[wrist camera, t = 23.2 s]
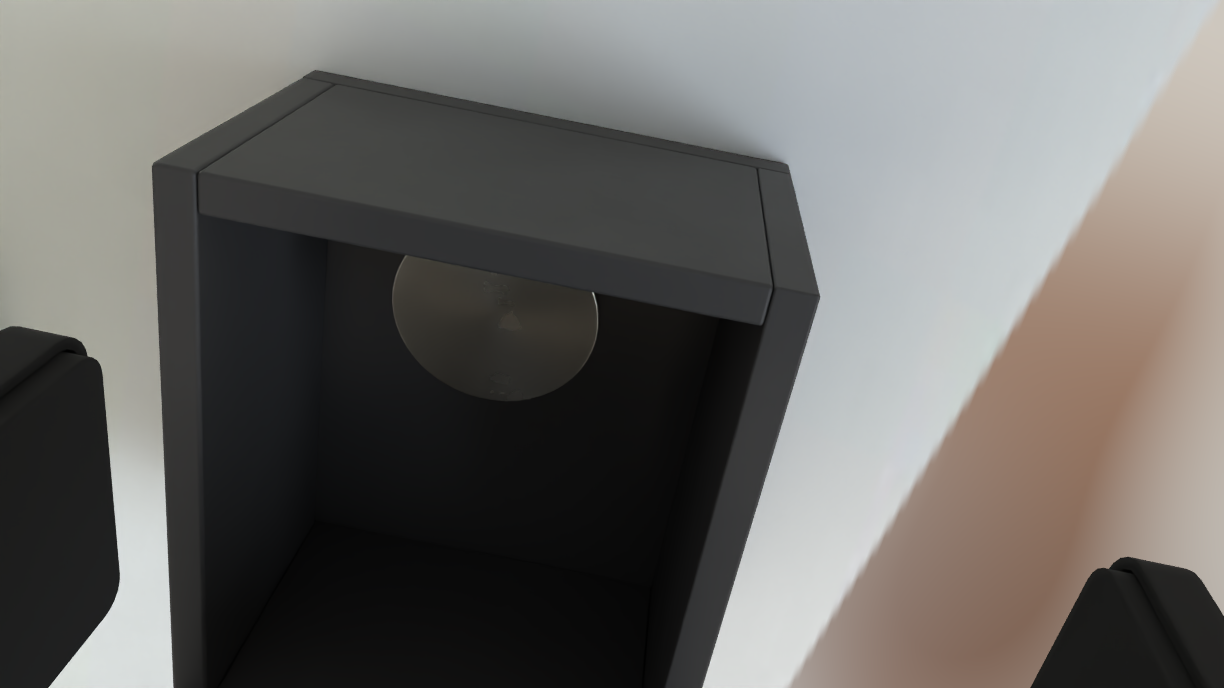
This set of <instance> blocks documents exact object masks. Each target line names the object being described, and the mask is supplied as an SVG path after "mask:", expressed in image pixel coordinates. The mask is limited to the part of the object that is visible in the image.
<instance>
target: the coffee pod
mask: <svg viewBox="0 0 1224 688" xmlns="http://www.w3.org/2000/svg"><path fill="white" fill-rule="evenodd" d="M392 308H393V315H394V319H395V323H396V326H397V329H398V331H399V334H400V336H401V338H402V340H403V342H404V343H405V345H406V347H407V348H408V350H409V351H410V353H411V354H412V355H413V357H414V358H415V359H416V360H417V361H418V362H419V363H420V364H421V366H422V367H423V368H425V369H426V370H427V371H428V372H429V373H430V374H432V375H433V376H434V377H436V378H437V379H438V380H440V381H441V382H443V383H444V384H446V385H448V386H450V387H452V388H454V389H456V390H458V391H461V392H463V393H465V394H468V395H471V396H475V397H478V398H483V399H488V400H496V401H520V400H526V399H532V398H535V397H539V396H542V395H545V394H547V393H550V392H552V391H554V390H556V389H558V388H559V387H561V386H563V385H564V384H566V383H567V382H568V381H570V380H571V379H572V378H573V377H574V376H575V375H576V374H577V373H578V372H579V371H580V370H581V369H582V368H583V366H584V365H585V363H586V362H587V361H588V359H589V357H590V355H591V353H592V351H593V349H594V346H595V343H596V340H597V336H598V331H599V325H600V304H599V297H598V294H597V293H593V292H588V291H583V290H578V289H573V288H568V287H563V286H558V285H553V284H548V283H543V282H538V281H533V280H528V279H523V278H518V277H513V276H508V275H503V274H498V273H493V272H488V271H483V270H478V269H473V268H468V267H463V266H458V265H453V264H448V263H442V262H437V261H432V260H427V259H422V258H417V257H412V256H407V255H404V257H403V259H402V261H401V263H400V264H399V266H398V269H397V272H396V274H395V277H394V282H393V287H392Z"/></svg>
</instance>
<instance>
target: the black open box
mask: <svg viewBox="0 0 1224 688" xmlns="http://www.w3.org/2000/svg"><path fill="white" fill-rule="evenodd" d="M152 180H153V204H154V228H155V252H156V276H157V300H158V324H159V348H160V372H161V396H162V420H163V444H164V468H165V492H166V516H167V540H168V564H169V588H170V612H171V636H172V660H173V684H174V688H702V687H703V683H704V680H705V677H706V673H707V670H708V667H709V663H710V660H711V657H712V653H713V650H714V647H715V644H716V640H717V637H718V634H719V630H720V627H721V624H722V620H723V617H724V614H725V610H726V607H727V604H728V601H729V597H730V594H731V591H732V587H733V584H734V581H735V577H736V574H737V571H738V567H739V564H740V561H741V558H742V554H743V551H744V548H745V544H746V541H747V538H748V534H749V531H750V528H751V524H752V521H753V518H754V515H755V511H756V508H757V505H758V501H759V498H760V495H761V491H762V488H763V485H764V481H765V478H766V475H767V472H768V468H769V465H770V462H771V458H772V455H773V452H774V448H775V445H776V442H777V438H778V435H779V432H780V429H781V425H782V422H783V419H784V415H785V412H786V409H787V405H788V402H789V399H790V395H791V392H792V389H793V386H794V382H795V379H796V376H797V372H798V369H799V366H800V362H801V359H802V356H803V352H804V349H805V346H806V343H807V339H808V336H809V333H810V329H811V326H812V323H813V319H814V316H815V313H816V309H817V306H818V303H819V300H820V294H819V290H818V286H817V282H816V278H815V274H814V269H813V265H812V261H811V257H810V253H809V249H808V245H807V240H806V236H805V232H804V228H803V224H802V220H801V216H800V211H799V207H798V203H797V199H796V195H795V191H794V187H793V182H792V178H791V174H790V170H789V166H788V165H787V164H783V163H778V162H773V161H768V160H763V159H758V158H753V157H748V156H743V155H738V154H733V153H728V152H723V151H718V150H713V149H708V148H703V147H698V146H693V145H688V144H683V143H678V142H672V141H667V140H662V139H657V138H652V137H647V136H642V135H637V134H632V133H627V132H622V131H617V130H612V129H607V128H602V127H597V126H592V125H587V124H582V123H577V122H572V121H567V120H562V119H557V118H552V117H547V116H542V115H537V114H532V113H527V112H522V111H517V110H512V109H507V108H502V107H497V106H492V105H487V104H482V103H477V102H472V101H467V100H462V99H457V98H452V97H447V96H442V95H437V94H431V93H426V92H421V91H416V90H411V89H406V88H401V87H396V86H391V85H386V84H381V83H376V82H371V81H366V80H361V79H356V78H351V77H346V76H341V75H336V74H331V73H326V72H321V71H316V70H315V71H313V72H311V73H309V74H307V75H306V76H304V77H303V79H300V80H298V81H297V82H295V83H293V84H291V85H290V86H288V87H286V88H284V89H283V90H281V91H279V92H277V93H276V94H274V95H272V96H270V97H268V98H267V99H265V100H263V101H261V102H260V103H258V104H256V105H254V106H253V107H251V108H249V109H247V110H246V111H244V112H242V113H240V114H239V115H237V116H235V117H233V118H231V119H230V120H228V121H226V122H224V123H223V124H221V125H219V126H217V127H216V128H214V129H212V130H210V131H209V132H207V133H205V134H203V135H201V136H200V137H198V138H196V139H194V140H193V141H191V142H189V143H187V144H186V145H184V146H182V147H180V148H179V149H177V150H175V151H173V152H172V153H170V154H168V155H166V156H164V157H163V158H161V159H159V160H157V161H156V162H154V163H153V166H152ZM404 255H407V256H412V257H417V258H422V259H427V260H432V261H437V262H442V263H448V264H453V265H458V266H463V267H468V268H473V269H478V270H483V271H488V272H493V273H498V274H503V275H508V276H513V277H518V278H523V279H528V280H533V281H538V282H543V283H548V284H553V285H558V286H563V287H568V288H573V289H578V290H583V291H588V292H593V293H597V294H598V297H599V304H600V325H599V331H598V336H597V340H596V343H595V346H594V349H593V351H592V353H591V355H590V357H589V359H588V361H587V362H586V363H585V365H584V366H583V368H582V369H581V370H580V371H579V372H578V373H577V374H576V375H575V376H574V377H573V378H572V379H571V380H570V381H568V382H567V383H566V384H564V385H563V386H561V387H559V388H558V389H556V390H554V391H552V392H550V393H547V394H545V395H542V396H539V397H535V398H532V399H526V400H520V401H496V400H488V399H483V398H478V397H475V396H471V395H468V394H465V393H463V392H461V391H458V390H456V389H454V388H452V387H450V386H448V385H446V384H444V383H443V382H441V381H440V380H438V379H437V378H436V377H434V376H433V375H432V374H430V373H429V372H428V371H427V370H426V369H425V368H423V367H422V366H421V364H420V363H419V362H418V361H417V360H416V359H415V358H414V357H413V355H412V354H411V353H410V351H409V350H408V348H407V347H406V345H405V343H404V342H403V340H402V338H401V336H400V334H399V331H398V329H397V326H396V323H395V319H394V315H393V308H392V287H393V282H394V277H395V274H396V272H397V269H398V266H399V264H400V263H401V261H402V259H403V257H404Z"/></svg>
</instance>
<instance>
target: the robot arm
mask: <svg viewBox="0 0 1224 688" xmlns="http://www.w3.org/2000/svg"><path fill="white" fill-rule="evenodd" d="M119 580H120V572H119V560H118V549H117V537H116V525H115V514H114V502H113V491H112V479H111V468H110V456H109V444H108V433H107V421H106V410H105V398H104V386H103V375H102V370H101V366H100V364H99V363H98V361H97V360H95V359H94V358H92V357H88V356H87V352H86V349H85V347H84V346H83V344H82V342H80V341H79V340H77V339H75V338H72V337H67V336H62V335H58V334H53V333H48V332H43V331H38V330H33V329H29V328H24V327H16V326H10V327H8V328H6V329H3V330H1V331H0V688H48V687H49V686H50V685H51V684H52V682H53V681H54V680H55V679H56V677H57V676H58V675H59V674H60V672H61V671H62V670H63V669H64V667H65V666H66V665H67V664H68V662H69V661H70V660H71V659H72V657H73V656H74V655H75V654H76V652H77V651H78V650H79V649H80V647H81V646H82V645H83V644H84V642H85V641H86V640H87V639H88V637H89V636H90V635H91V634H92V632H93V631H94V630H95V629H96V627H97V626H98V625H99V624H100V622H101V621H102V620H103V619H104V617H105V616H106V614H107V613H108V611H109V610H110V608H111V606H112V604H113V602H114V600H115V597H116V594H117V591H118V587H119ZM1031 688H1224V616H1223V614H1222V613H1221V611H1220V609H1219V608H1218V606H1217V604H1216V603H1215V601H1214V600H1213V599H1212V596H1211V595H1210V593H1209V592H1208V590H1207V588H1206V587H1205V585H1204V584H1203V582H1202V581H1201V580H1200V578H1199V577H1198V576H1197V575H1196V574H1195V573H1194V572H1192V571H1190V570H1188V569H1184V568H1179V567H1175V566H1170V565H1164V564H1160V563H1155V562H1150V561H1146V560H1141V559H1136V558H1131V557H1124V558H1120V559H1119V560H1117V561H1116V562H1114V563H1113V564H1112V566H1111V567H1110V568H1109V569H1106V568H1100V569H1097V570H1095V571H1094V572H1093V573H1092V574H1091V576H1090V577H1089V578H1088V580H1087V582H1086V584H1085V586H1084V587H1083V589H1082V591H1081V593H1080V595H1079V597H1078V599H1077V601H1076V602H1075V604H1074V606H1073V608H1072V610H1071V612H1070V614H1069V616H1068V618H1067V619H1066V621H1065V623H1064V625H1063V627H1062V629H1061V631H1060V633H1059V635H1058V637H1057V639H1056V640H1055V642H1054V644H1053V646H1052V648H1051V650H1050V652H1049V654H1048V655H1047V657H1046V659H1045V661H1044V663H1043V665H1042V667H1041V669H1040V671H1039V672H1038V674H1037V676H1036V678H1035V680H1034V682H1033V684H1032V686H1031Z"/></svg>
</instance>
